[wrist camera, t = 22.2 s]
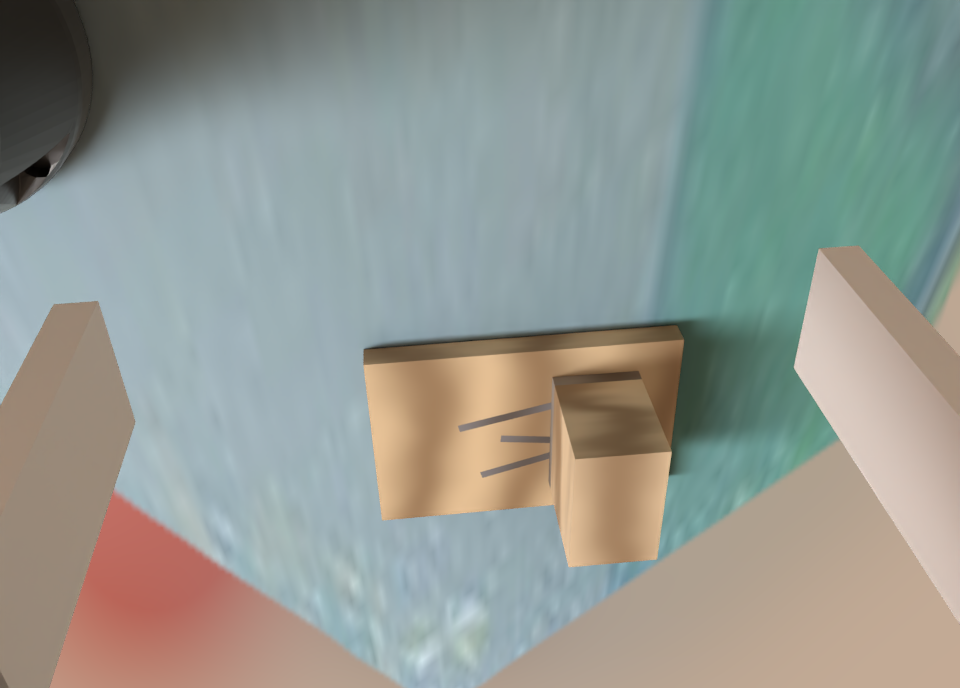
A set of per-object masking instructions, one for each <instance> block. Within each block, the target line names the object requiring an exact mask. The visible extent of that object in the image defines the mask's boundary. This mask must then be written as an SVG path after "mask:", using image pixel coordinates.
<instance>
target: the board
mask: <svg viewBox="0 0 960 688" xmlns="http://www.w3.org/2000/svg"><path fill="white" fill-rule="evenodd" d="M683 345H684V338H683V336H682V334H681V332H680V330H679V328H678V326H677V325H672V326H659V327H646V328H633V329H620V330H608V331H595V332H582V333H569V334H556V335H544V336H531V337H518V338H505V339H492V340H480V341H467V342H454V343H441V344H428V345H416V346H403V347H390V348H377V349H364V373H365V381H366V390H367V398H368V406H369V414H370V423H371V431H372V439H373V448H374V456H375V464H376V473H377V481H378V489H379V498H380V506H381V514H382V520H392V519H403V518H414V517H425V516H436V515H447V514H458V513H469V512H480V511H491V510H502V509H513V508H524V507H535V506H546V505H554V502H553V498H552V494H551V490H550V486H549V481H548V477H549V451H550V425H551V398H552V377H562V376H576V375H589V374H603V373H617V372H630V371H639V373H640V376H641V378H642V381H643V383H644V385H645V388H646V390H647V393H648V395H649V398H650V400H651V402H652V405H653V407H654V410H655V412H656V415H657V417H658V419H659V422H660V424H661V427H662V429H663V432H664V434H665V436H666V439H667V441H668V444H669V446H670V449H671V442H672V434H673V426H674V418H675V410H676V402H677V394H678V386H679V378H680V370H681V362H682V353H683Z"/></svg>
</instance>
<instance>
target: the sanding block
mask: <svg viewBox="0 0 960 688" xmlns="http://www.w3.org/2000/svg"><path fill="white" fill-rule="evenodd" d="M671 454H672V451H671V449H670V446H669V444H668V441H667V439H666V436H665V434H664V432H663V429H662V427H661V424H660V422H659V419H658V417H657V415H656V412H655V410H654V407H653V405H652V402H651V400H650V398H649V395H648V393H647V390H646V388H645V385H644V383H643V381H642V378H641V376H640V373H639V371H630V372H617V373H603V374H589V375H576V376H562V377H552V398H551V425H550V451H549V477H548V481H549V486H550V490H551V494H552V498H553V502H554V507H555V511H556V515H557V519H558V524H559V528H560V532H561V536H562V541H563V545H564V549H565V553H566V557H567V562H568V566H569V567H577V566H588V565H599V564H611V563H622V562H633V561H644V560H655V559H657V555H658V548H659V540H660V533H661V526H662V519H663V511H664V504H665V497H666V490H667V483H668V475H669V468H670V461H671Z"/></svg>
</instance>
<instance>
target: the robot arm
mask: <svg viewBox="0 0 960 688" xmlns="http://www.w3.org/2000/svg"><path fill="white" fill-rule="evenodd" d="M91 96H92V63H91V56H90V50H89V46H88V41H87V37H86V34H85V31H84V27H83V24H82V21H81V19H80V16H79V14H78V11H77V9H76V7H75V5H74V2H73V0H0V213H2V212H5V211H7V210H9V209H11V208H13V207H15V206H17V205H19V204H20V203H22V202H24V201H25V200H27V199H28V198H30V197H31V196H32V195H34V194H35V193H36V192H38V191H39V190H40V189H41V188H42V187H43V186H44V185H46V184H47V183H48V182H49V181H50V180H51V178H52V177H53V176H54V175H55V174H56V173H57V171H58V170H59V169H60V167H61V166H62V164H63V163H64V162H65V160H66V159H67V157H68V156H69V154H70V153H71V151H72V150H73V148H74V146H75V145H76V143H77V141H78V139H79V137H80V135H81V133H82V131H83V128H84V126H85V123H86V120H87V117H88V113H89V109H90V103H91ZM794 369H795V370H796V372H797V374H798V375H799V377H800V378H801V380H802V381H803V383H804V384H805V386H806V387H807V389H808V391H809V392H810V394H811V395H812V397H813V398H814V400H815V401H816V403H817V404H818V406H819V408H820V409H821V411H822V412H823V414H824V415H825V417H826V418H827V420H828V421H829V423H830V425H831V426H832V428H833V429H834V431H835V432H836V434H837V435H838V437H839V438H840V440H841V442H842V443H843V445H844V446H845V448H846V449H847V451H848V452H849V454H850V455H851V457H852V459H853V460H854V462H855V463H856V465H857V466H858V468H859V469H860V471H861V472H862V474H863V475H864V477H865V479H866V480H867V482H868V483H869V485H870V486H871V488H872V489H873V491H874V492H875V494H876V495H877V497H878V498H879V500H880V502H881V503H882V505H883V506H884V508H885V509H886V511H887V512H888V514H889V516H890V517H891V519H892V520H893V522H894V523H895V525H896V527H897V528H898V530H899V531H900V533H901V534H902V535H903V537H904V539H905V540H906V542H907V544H908V545H909V547H910V548H911V550H912V551H913V553H914V554H915V556H916V557H917V559H918V561H919V562H920V564H921V565H922V567H923V568H924V570H925V571H926V573H927V574H928V576H929V577H930V579H931V581H932V582H933V584H934V585H935V587H936V588H937V590H938V591H939V593H940V595H941V596H942V598H943V599H944V601H945V602H946V604H947V605H948V607H949V608H950V610H951V611H952V613H953V615H954V616H955V618H956V619H957V621H958V622H959V624H960V356H959V355H958V354H957V353H956V352H955V350H954V349H953V348H952V347H951V346H950V345H949V344H948V343H947V342H946V341H945V339H944V338H943V337H942V336H941V335H940V334H939V333H938V332H937V331H936V330H935V329H934V327H933V326H932V325H931V324H930V323H929V322H928V321H927V320H926V319H925V318H924V317H923V315H922V314H921V313H920V312H919V311H918V310H917V309H916V308H915V307H914V306H913V305H912V303H911V302H910V301H909V300H908V299H907V298H906V297H905V296H904V295H903V294H902V292H901V291H900V290H899V289H898V288H897V287H896V286H895V285H894V284H893V283H892V282H891V280H890V279H889V278H888V277H887V276H886V275H885V274H884V273H883V272H882V271H881V270H880V268H879V267H878V266H877V265H876V264H875V263H874V262H873V261H872V260H871V259H870V258H869V256H868V255H867V254H866V253H865V252H864V251H863V250H862V249H861V248H860V247H859V246H846V247H833V248H819V250H818V255H817V260H816V265H815V269H814V274H813V279H812V284H811V288H810V293H809V298H808V303H807V307H806V312H805V317H804V322H803V326H802V331H801V336H800V341H799V345H798V350H797V355H796V359H795V364H794ZM134 425H135V419H134V415H133V412H132V409H131V406H130V403H129V399H128V396H127V393H126V390H125V386H124V383H123V380H122V377H121V373H120V370H119V367H118V364H117V361H116V357H115V354H114V351H113V348H112V344H111V341H110V338H109V335H108V331H107V328H106V325H105V322H104V318H103V315H102V312H101V309H100V306H99V302H98V301H94V302H80V303H66V304H54V305H53V307H52V308H51V310H50V312H49V314H48V316H47V318H46V320H45V322H44V324H43V326H42V328H41V329H40V331H39V333H38V335H37V337H36V339H35V341H34V343H33V345H32V347H31V348H30V350H29V352H28V354H27V356H26V358H25V360H24V362H23V364H22V366H21V368H20V369H19V371H18V373H17V375H16V377H15V379H14V381H13V383H12V385H11V387H10V388H9V390H8V392H7V394H6V396H5V398H4V400H3V402H2V404H1V406H0V688H49V687H50V684H51V681H52V678H53V675H54V672H55V668H56V666H57V662H58V659H59V656H60V653H61V650H62V647H63V644H64V641H65V638H66V634H67V631H68V629H69V625H70V622H71V619H72V616H73V613H74V610H75V607H76V604H77V601H78V597H79V595H80V591H81V588H82V585H83V582H84V579H85V576H86V572H87V570H88V567H89V563H90V560H91V557H92V554H93V551H94V548H95V545H96V542H97V539H98V536H99V533H100V529H101V526H102V524H103V520H104V517H105V514H106V511H107V508H108V505H109V502H110V499H111V496H112V493H113V490H114V487H115V483H116V480H117V477H118V474H119V471H120V468H121V465H122V462H123V459H124V456H125V453H126V449H127V446H128V443H129V440H130V437H131V434H132V431H133V428H134Z"/></svg>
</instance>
